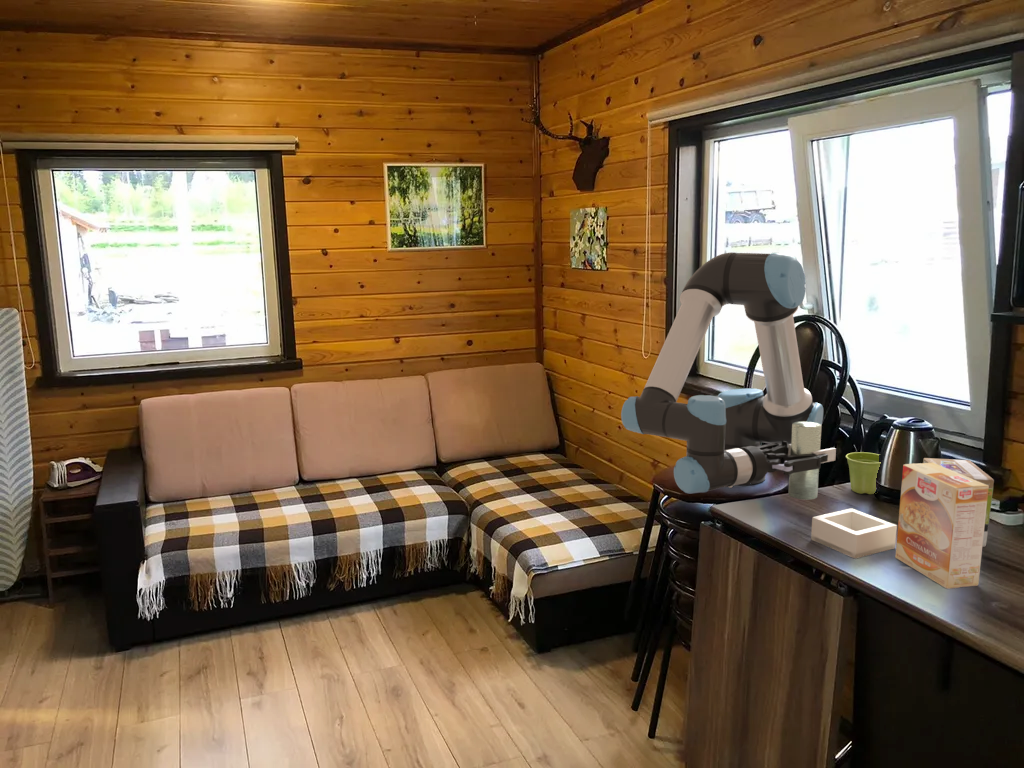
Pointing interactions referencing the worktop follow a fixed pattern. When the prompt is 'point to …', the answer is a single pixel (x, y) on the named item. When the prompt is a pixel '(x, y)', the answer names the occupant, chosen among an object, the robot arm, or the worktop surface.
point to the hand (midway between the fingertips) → (822, 450)
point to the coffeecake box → (941, 524)
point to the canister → (804, 442)
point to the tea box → (974, 473)
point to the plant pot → (863, 471)
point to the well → (853, 533)
